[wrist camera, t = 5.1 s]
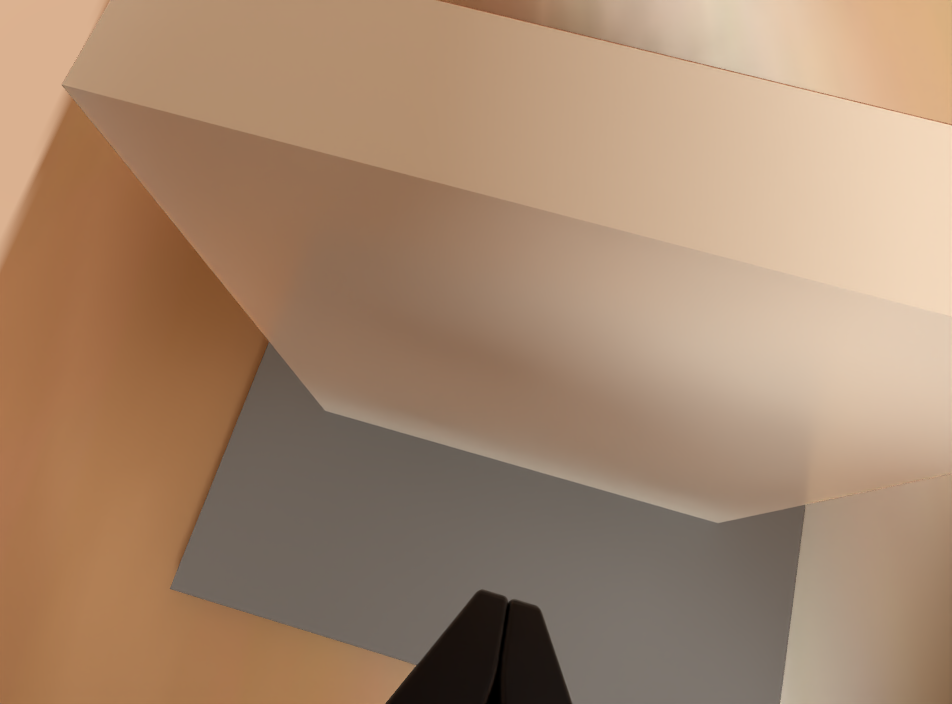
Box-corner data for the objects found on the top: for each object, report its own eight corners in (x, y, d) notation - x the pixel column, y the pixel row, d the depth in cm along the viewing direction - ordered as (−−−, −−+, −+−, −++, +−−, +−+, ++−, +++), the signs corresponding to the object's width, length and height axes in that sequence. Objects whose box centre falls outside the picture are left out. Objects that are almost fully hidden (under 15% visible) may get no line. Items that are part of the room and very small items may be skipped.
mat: (761, 768, 15) (770, 774, 15) (178, 588, 16) (169, 588, 16) (847, 119, 21) (856, 108, 20) (407, 11, 22) (406, -1, 21)
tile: (717, 523, 17) (1285, 402, 5) (325, 411, 17) (61, 84, 6) (730, 444, 17) (1265, 182, 6) (351, 338, 18) (159, -86, 6)
